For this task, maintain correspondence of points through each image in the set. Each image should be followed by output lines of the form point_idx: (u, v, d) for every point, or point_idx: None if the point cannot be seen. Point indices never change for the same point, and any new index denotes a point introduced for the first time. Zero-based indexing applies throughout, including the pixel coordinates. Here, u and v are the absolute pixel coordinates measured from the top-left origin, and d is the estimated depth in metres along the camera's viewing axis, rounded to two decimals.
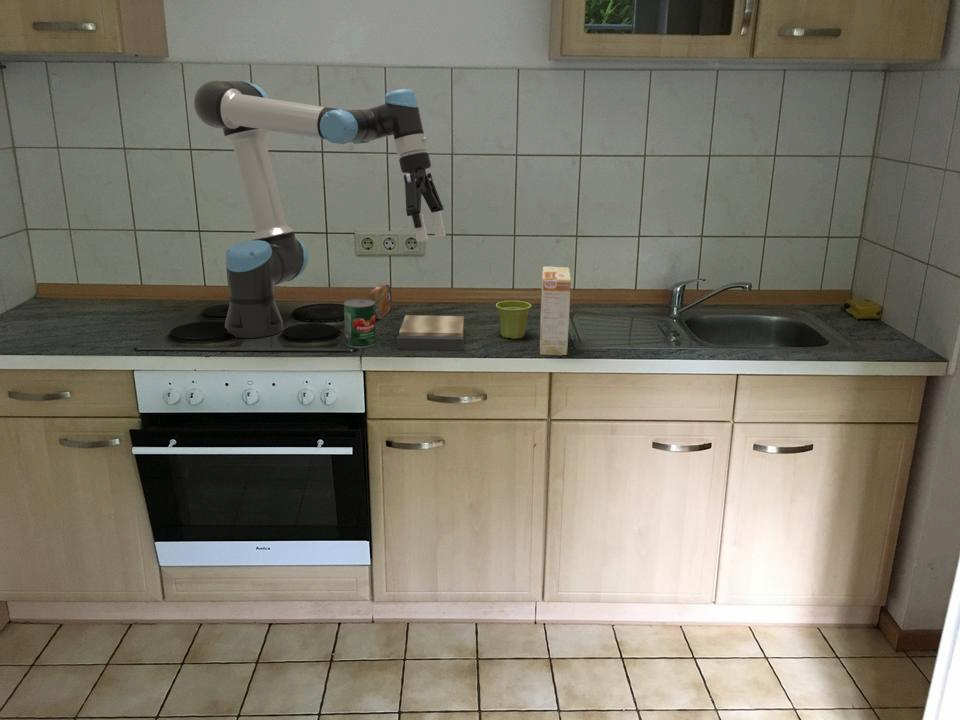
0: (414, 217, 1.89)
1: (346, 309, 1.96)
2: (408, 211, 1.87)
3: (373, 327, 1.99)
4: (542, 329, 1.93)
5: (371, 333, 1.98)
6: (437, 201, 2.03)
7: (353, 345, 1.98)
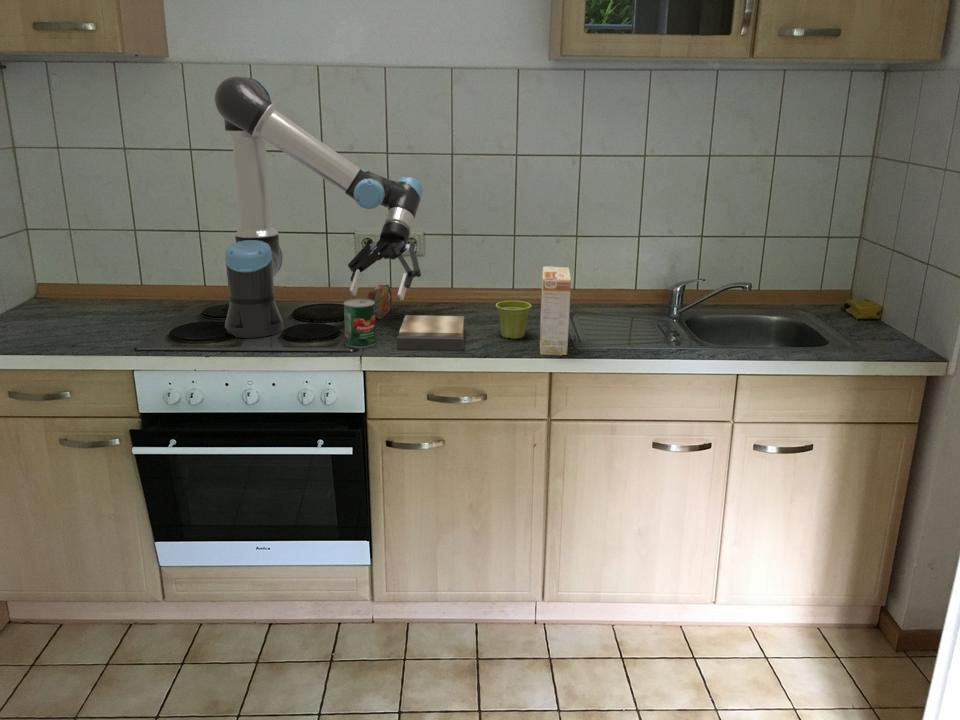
0: (411, 277, 2.04)
1: (346, 309, 1.96)
2: (417, 272, 2.04)
3: (373, 327, 1.99)
4: (542, 329, 1.93)
5: (371, 333, 1.98)
6: None
7: (353, 345, 1.98)
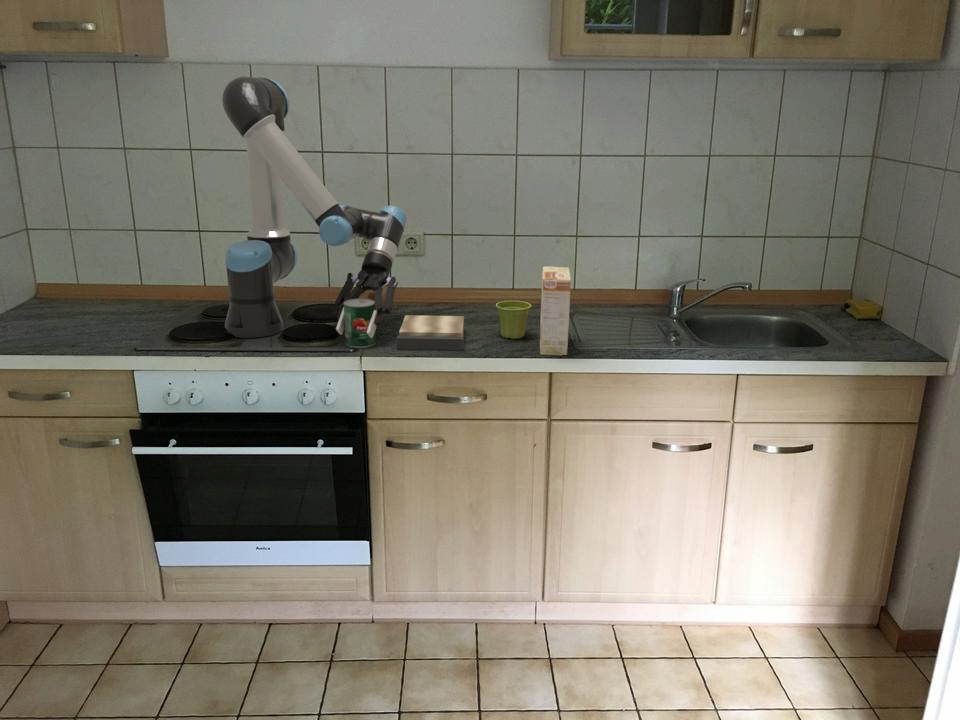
0: (381, 315, 1.98)
1: (346, 309, 1.96)
2: (388, 309, 1.97)
3: None
4: (542, 329, 1.93)
5: None
6: (344, 301, 2.03)
7: (353, 345, 1.98)
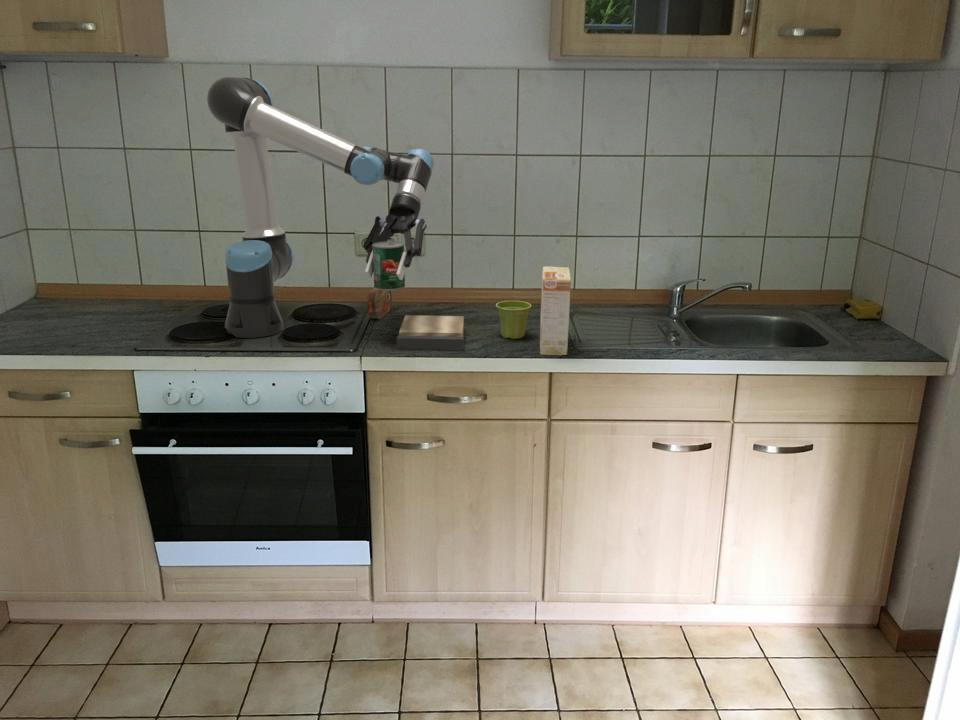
0: (410, 256, 1.94)
1: (375, 250, 1.92)
2: (417, 251, 1.94)
3: None
4: (542, 329, 1.93)
5: None
6: None
7: (382, 288, 1.94)
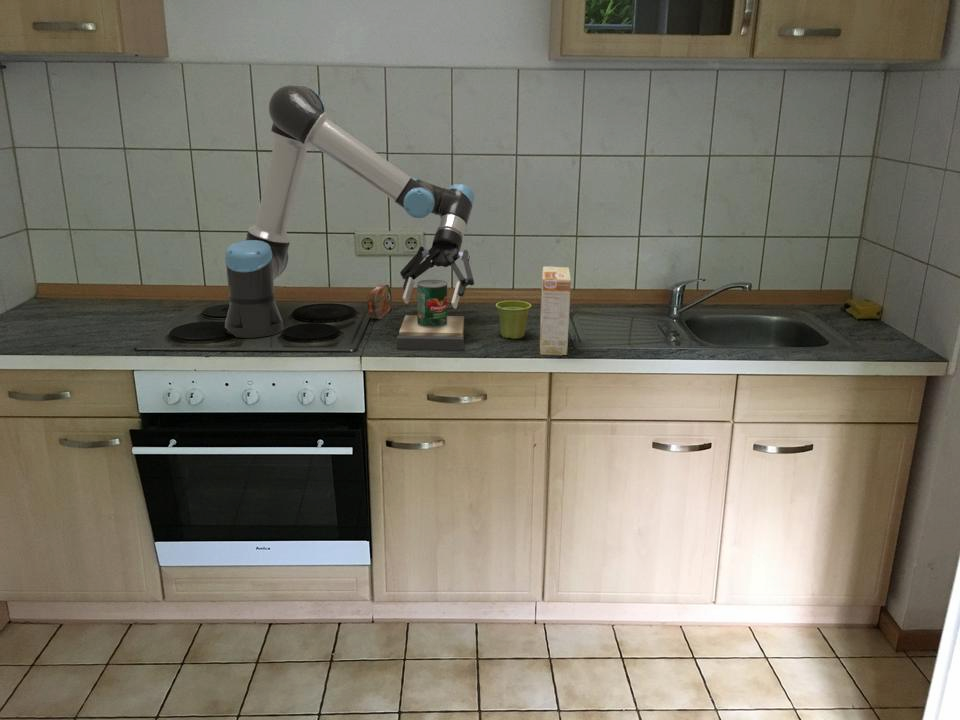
0: (464, 286, 2.01)
1: (420, 289, 2.00)
2: (471, 280, 2.01)
3: (445, 307, 2.02)
4: (542, 329, 1.93)
5: (443, 313, 2.02)
6: None
7: (426, 325, 2.02)
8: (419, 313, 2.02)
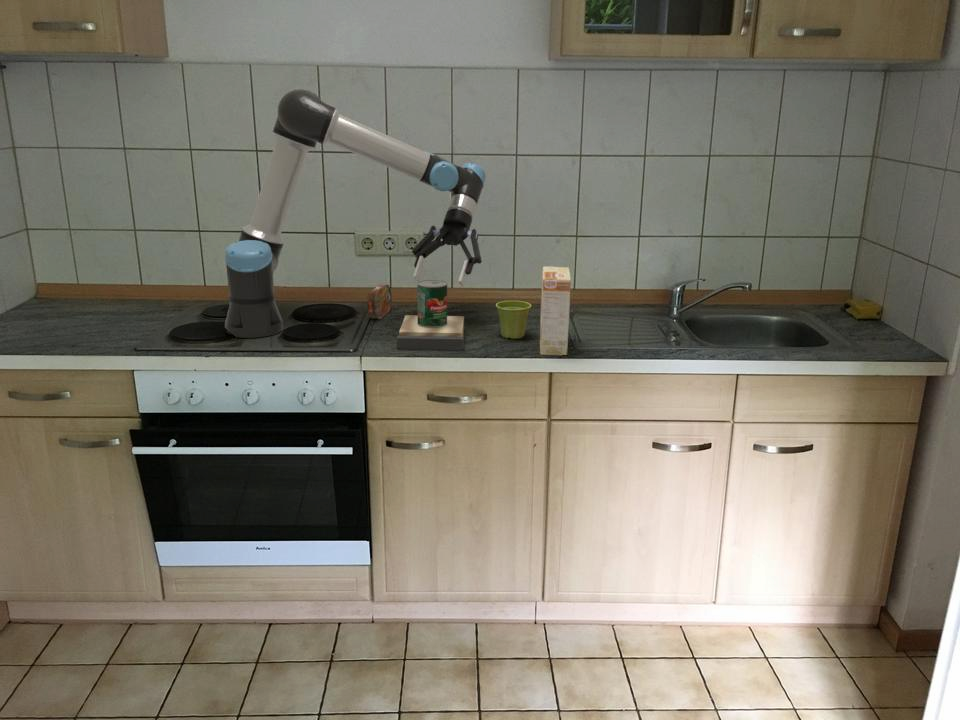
0: (471, 264, 2.10)
1: (420, 289, 2.00)
2: (478, 259, 2.09)
3: (445, 307, 2.02)
4: (542, 329, 1.93)
5: (443, 313, 2.02)
6: None
7: (426, 325, 2.02)
8: (419, 313, 2.02)
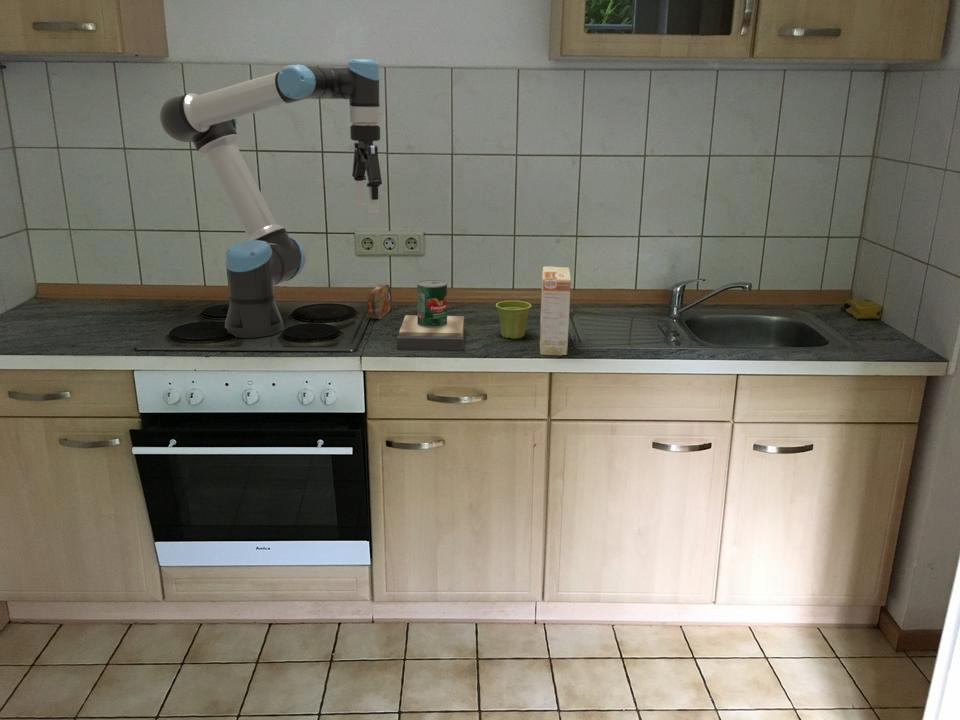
0: (374, 189, 1.95)
1: (420, 289, 2.00)
2: (374, 183, 1.93)
3: (445, 307, 2.02)
4: (542, 329, 1.93)
5: (443, 313, 2.02)
6: None
7: (426, 325, 2.02)
8: (419, 313, 2.02)
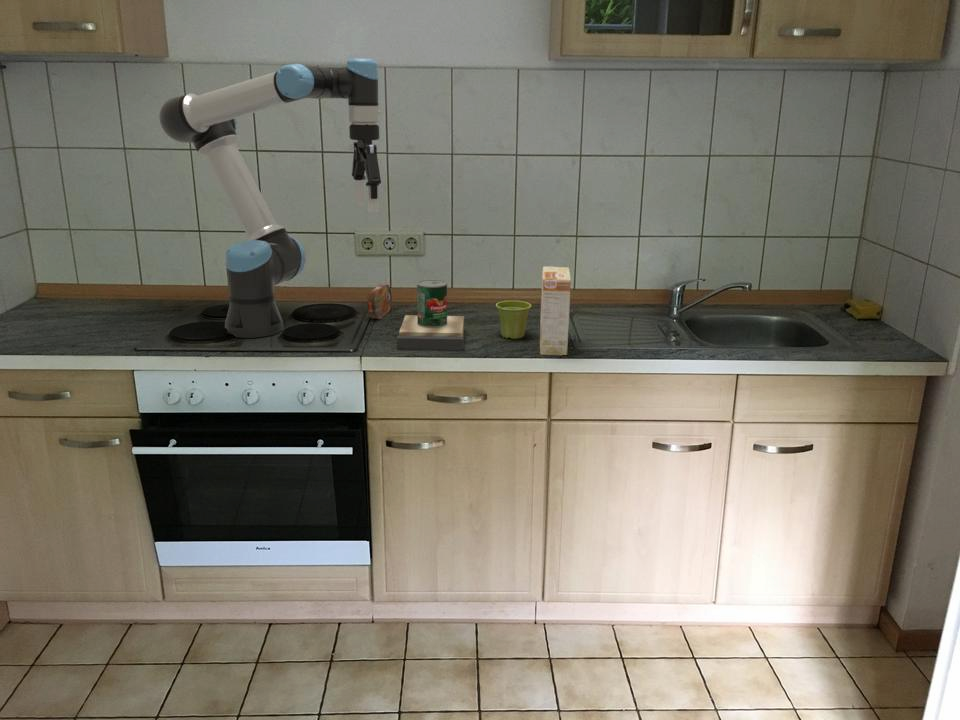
0: (373, 188, 1.95)
1: (420, 289, 2.00)
2: (373, 182, 1.93)
3: (445, 307, 2.02)
4: (542, 329, 1.93)
5: (443, 313, 2.02)
6: None
7: (426, 325, 2.02)
8: (419, 313, 2.02)
